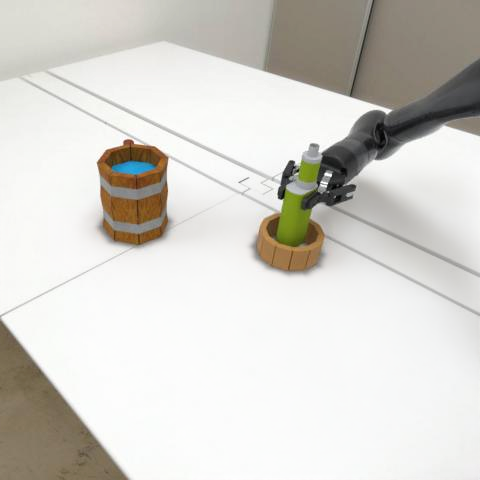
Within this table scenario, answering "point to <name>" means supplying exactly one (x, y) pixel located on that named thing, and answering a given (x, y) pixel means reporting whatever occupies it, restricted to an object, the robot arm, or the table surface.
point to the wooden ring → (288, 255)
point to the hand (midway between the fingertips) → (291, 200)
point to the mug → (134, 192)
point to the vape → (299, 200)
